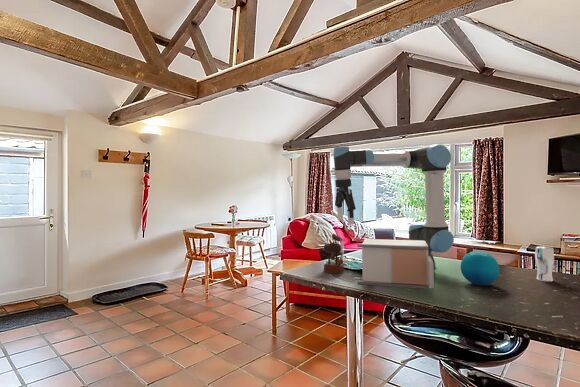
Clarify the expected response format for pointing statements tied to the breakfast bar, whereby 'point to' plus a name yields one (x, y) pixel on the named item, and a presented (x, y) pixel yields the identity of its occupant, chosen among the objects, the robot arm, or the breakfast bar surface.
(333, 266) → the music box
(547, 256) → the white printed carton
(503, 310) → the breakfast bar surface
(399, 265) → the side door
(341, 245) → the screw
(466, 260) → the decorative orb
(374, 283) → the sliding door cabinet
